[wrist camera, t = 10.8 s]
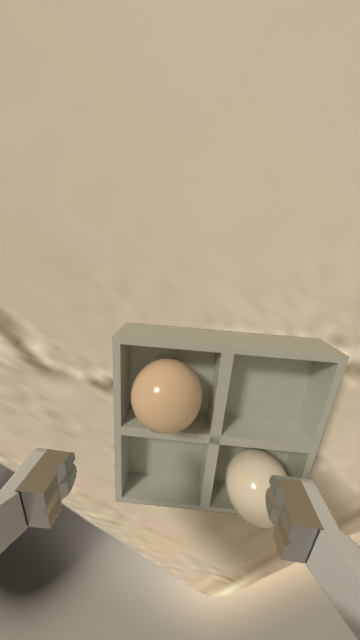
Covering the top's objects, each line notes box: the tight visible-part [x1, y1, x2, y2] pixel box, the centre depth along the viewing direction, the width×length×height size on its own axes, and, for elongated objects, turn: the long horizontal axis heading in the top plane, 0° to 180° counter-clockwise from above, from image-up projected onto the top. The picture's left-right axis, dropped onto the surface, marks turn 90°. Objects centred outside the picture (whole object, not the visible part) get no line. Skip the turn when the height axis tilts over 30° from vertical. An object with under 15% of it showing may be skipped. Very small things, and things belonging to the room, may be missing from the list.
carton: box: [112, 323, 349, 514], centre depth 17 cm, size 15×15×3 cm
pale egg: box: [225, 448, 287, 529], centre depth 16 cm, size 5×5×5 cm
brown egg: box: [131, 358, 202, 435], centre depth 14 cm, size 5×5×5 cm
